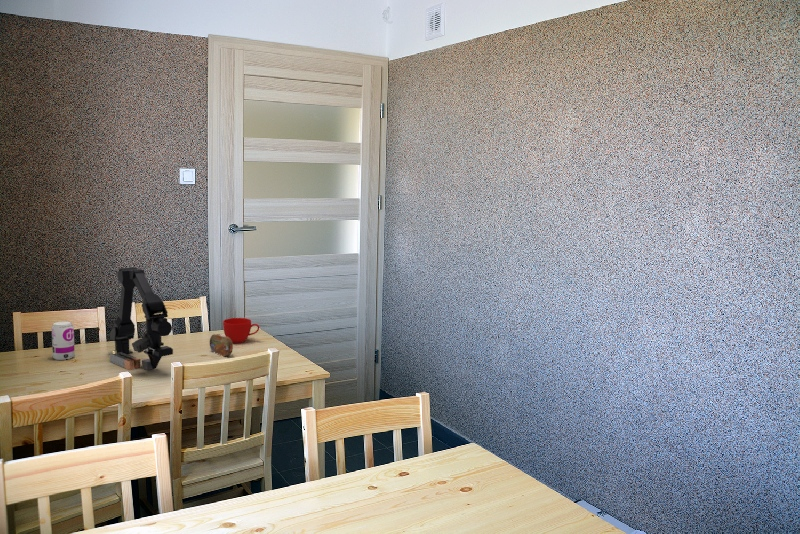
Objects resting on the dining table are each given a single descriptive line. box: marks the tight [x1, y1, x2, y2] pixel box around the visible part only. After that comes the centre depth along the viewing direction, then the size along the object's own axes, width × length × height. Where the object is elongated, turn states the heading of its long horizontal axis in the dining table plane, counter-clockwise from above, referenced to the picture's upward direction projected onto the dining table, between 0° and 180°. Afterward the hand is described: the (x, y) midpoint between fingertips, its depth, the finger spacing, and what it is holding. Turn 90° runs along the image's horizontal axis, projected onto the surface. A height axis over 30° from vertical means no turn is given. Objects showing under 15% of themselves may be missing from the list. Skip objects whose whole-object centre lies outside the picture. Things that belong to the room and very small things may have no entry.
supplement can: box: [51, 320, 76, 361], centre depth 283 cm, size 8×8×15 cm
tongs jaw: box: [117, 352, 141, 369], centre depth 278 cm, size 14×2×3 cm, turn 52°
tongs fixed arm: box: [109, 349, 135, 371], centre depth 278 cm, size 18×3×4 cm, turn 50°
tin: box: [209, 333, 234, 357], centre depth 298 cm, size 15×3×8 cm, turn 47°
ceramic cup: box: [222, 317, 260, 344], centre depth 319 cm, size 13×17×10 cm
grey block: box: [141, 358, 153, 371], centre depth 273 cm, size 4×3×3 cm
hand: (154, 368), depth 272 cm, fingers closed
